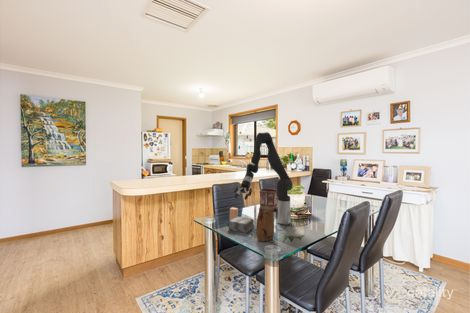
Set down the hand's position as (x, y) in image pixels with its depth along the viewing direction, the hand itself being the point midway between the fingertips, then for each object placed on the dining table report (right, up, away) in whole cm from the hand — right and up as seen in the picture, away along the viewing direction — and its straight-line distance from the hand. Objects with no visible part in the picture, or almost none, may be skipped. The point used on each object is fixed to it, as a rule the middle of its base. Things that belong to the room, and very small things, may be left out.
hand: (240, 198), depth 184 cm
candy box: (+55, -16, +15) cm, 59 cm away
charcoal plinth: (0, -16, -24) cm, 29 cm away
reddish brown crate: (+27, -15, +27) cm, 41 cm away
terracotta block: (-5, -16, -9) cm, 19 cm away
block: (+14, -18, -43) cm, 48 cm away
